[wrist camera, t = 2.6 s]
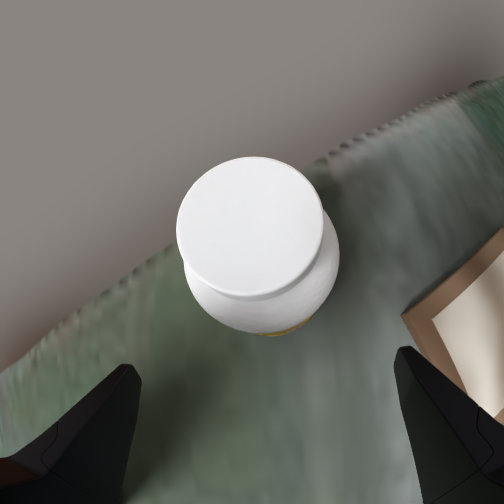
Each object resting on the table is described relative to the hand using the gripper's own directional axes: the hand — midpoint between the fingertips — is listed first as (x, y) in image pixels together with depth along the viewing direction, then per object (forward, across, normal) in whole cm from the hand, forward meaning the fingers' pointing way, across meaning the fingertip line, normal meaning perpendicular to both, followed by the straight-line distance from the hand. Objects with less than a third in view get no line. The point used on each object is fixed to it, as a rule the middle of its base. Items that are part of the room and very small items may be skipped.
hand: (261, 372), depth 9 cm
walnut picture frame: (+7, -18, +9) cm, 22 cm away
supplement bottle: (+12, 0, +5) cm, 13 cm away
